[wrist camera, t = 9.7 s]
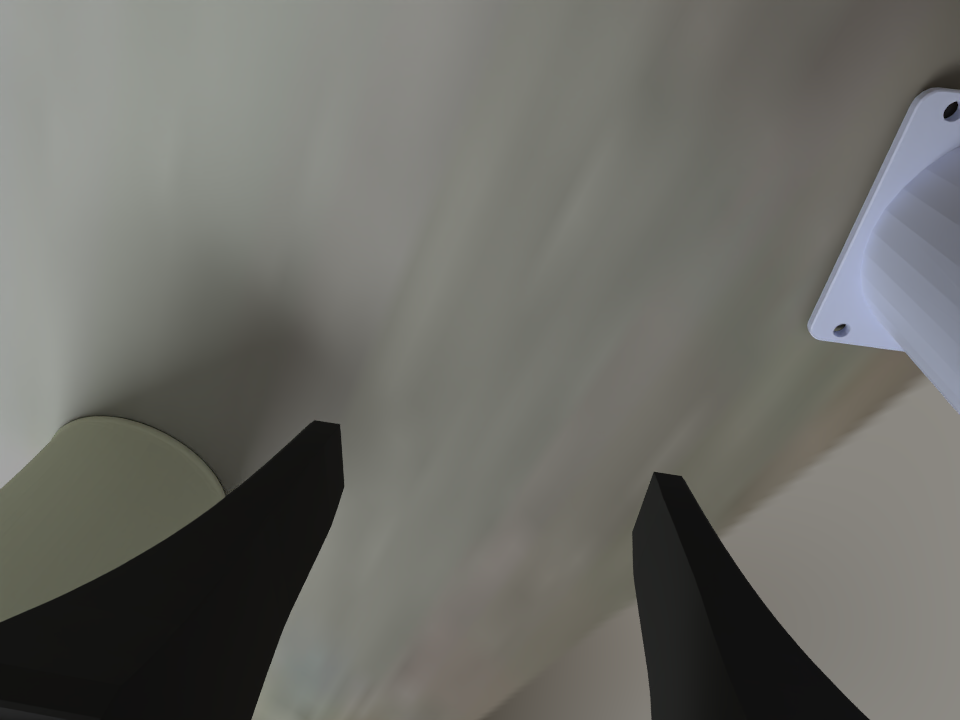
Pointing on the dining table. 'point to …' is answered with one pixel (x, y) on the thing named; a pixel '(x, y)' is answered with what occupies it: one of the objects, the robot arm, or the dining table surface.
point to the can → (94, 506)
